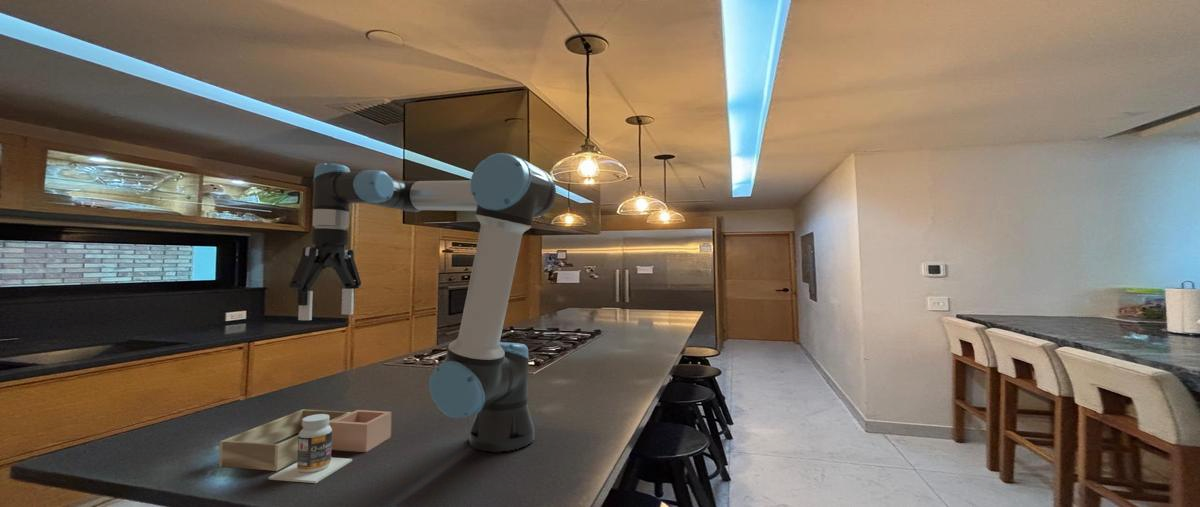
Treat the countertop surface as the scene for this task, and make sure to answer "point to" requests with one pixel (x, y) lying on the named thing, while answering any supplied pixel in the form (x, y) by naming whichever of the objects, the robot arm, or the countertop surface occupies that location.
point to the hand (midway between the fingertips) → (327, 317)
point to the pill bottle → (314, 444)
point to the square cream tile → (312, 477)
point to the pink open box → (360, 430)
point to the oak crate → (268, 443)
